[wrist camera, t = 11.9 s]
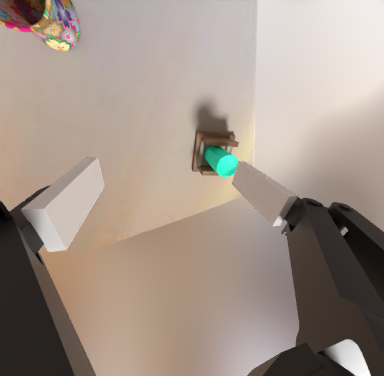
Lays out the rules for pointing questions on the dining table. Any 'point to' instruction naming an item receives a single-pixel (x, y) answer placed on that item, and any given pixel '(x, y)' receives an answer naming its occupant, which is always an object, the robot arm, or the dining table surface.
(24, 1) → the mug
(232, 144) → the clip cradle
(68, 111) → the dining table surface
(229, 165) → the candle
